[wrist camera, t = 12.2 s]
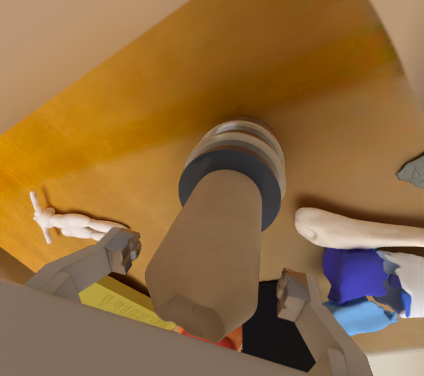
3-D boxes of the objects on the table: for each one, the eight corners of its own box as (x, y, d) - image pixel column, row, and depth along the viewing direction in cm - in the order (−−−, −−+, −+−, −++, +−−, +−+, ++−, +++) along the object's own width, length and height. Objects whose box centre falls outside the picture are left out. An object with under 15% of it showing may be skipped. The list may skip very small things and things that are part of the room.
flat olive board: (82, 276, 39) (186, 328, 46) (89, 265, 41) (188, 318, 48) (63, 298, 46) (157, 342, 52) (70, 288, 47) (160, 332, 54)
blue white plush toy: (514, 369, 24) (688, 375, 15) (283, 333, 27) (312, 320, 18) (452, 258, 32) (543, 218, 23) (278, 240, 35) (297, 198, 26)
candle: (187, 210, 19) (121, 327, 10) (207, 156, 16) (137, 258, 8) (245, 235, 19) (225, 374, 10) (275, 185, 16) (282, 322, 7)
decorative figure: (124, 213, 34) (15, 194, 35) (129, 263, 41) (37, 246, 41) (133, 201, 37) (33, 183, 38) (136, 249, 44) (50, 234, 44)
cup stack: (207, 107, 25) (171, 131, 16) (292, 119, 24) (307, 154, 14) (201, 179, 30) (171, 230, 21) (271, 193, 29) (272, 254, 19)
